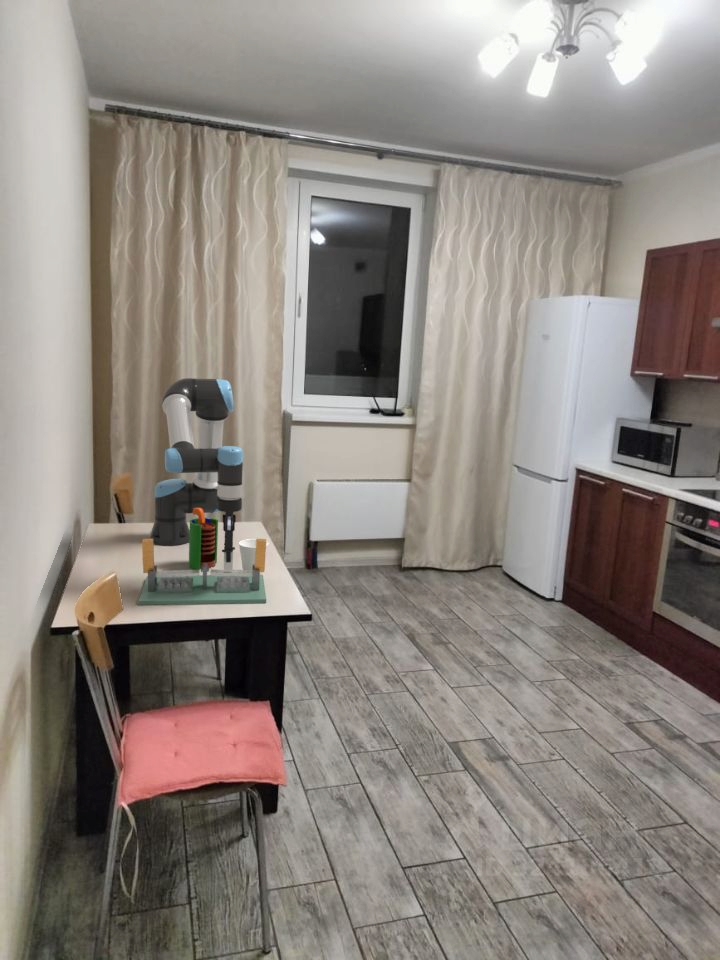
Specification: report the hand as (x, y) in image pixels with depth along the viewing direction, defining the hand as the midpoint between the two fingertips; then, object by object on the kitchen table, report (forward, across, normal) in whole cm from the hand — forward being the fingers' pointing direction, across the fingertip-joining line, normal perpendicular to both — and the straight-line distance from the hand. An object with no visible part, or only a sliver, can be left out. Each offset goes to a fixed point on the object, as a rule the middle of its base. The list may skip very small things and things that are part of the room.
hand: (228, 571), depth 217 cm
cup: (+7, -15, +8) cm, 19 cm away
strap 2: (+2, 0, +3) cm, 3 cm away
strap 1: (+2, 0, -17) cm, 17 cm away
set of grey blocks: (+5, 0, -7) cm, 9 cm away
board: (+7, 0, -7) cm, 10 cm away
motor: (+7, -25, -9) cm, 28 cm away
